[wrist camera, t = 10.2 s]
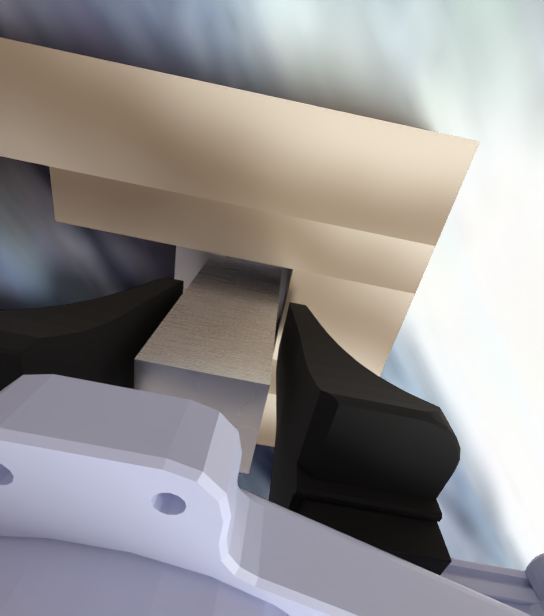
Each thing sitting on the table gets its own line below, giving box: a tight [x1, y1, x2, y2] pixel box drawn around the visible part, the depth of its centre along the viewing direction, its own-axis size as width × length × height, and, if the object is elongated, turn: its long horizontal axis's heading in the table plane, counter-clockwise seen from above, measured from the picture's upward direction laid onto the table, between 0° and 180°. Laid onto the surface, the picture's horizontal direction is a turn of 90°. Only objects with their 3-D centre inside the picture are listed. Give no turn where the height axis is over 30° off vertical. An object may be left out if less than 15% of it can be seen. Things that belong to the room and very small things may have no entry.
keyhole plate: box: [0, 37, 480, 447], centre depth 14 cm, size 14×24×3 cm, turn 79°
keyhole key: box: [134, 246, 292, 474], centre depth 12 cm, size 6×6×8 cm
